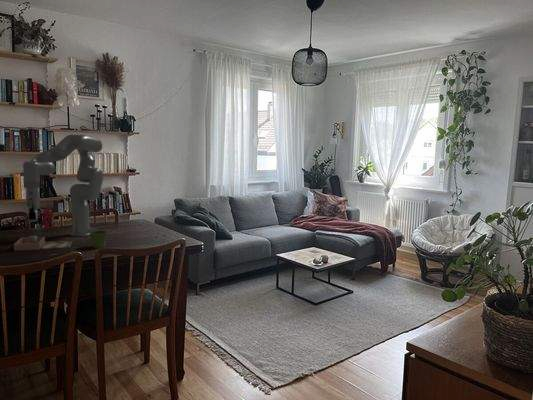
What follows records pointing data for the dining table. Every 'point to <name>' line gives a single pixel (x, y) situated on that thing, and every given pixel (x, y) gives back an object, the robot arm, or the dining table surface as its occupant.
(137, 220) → the dining table surface
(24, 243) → the brown shallow rectangular tray
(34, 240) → the pebble dark
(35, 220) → the pebble grey
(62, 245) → the birch tray
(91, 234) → the plant pot
